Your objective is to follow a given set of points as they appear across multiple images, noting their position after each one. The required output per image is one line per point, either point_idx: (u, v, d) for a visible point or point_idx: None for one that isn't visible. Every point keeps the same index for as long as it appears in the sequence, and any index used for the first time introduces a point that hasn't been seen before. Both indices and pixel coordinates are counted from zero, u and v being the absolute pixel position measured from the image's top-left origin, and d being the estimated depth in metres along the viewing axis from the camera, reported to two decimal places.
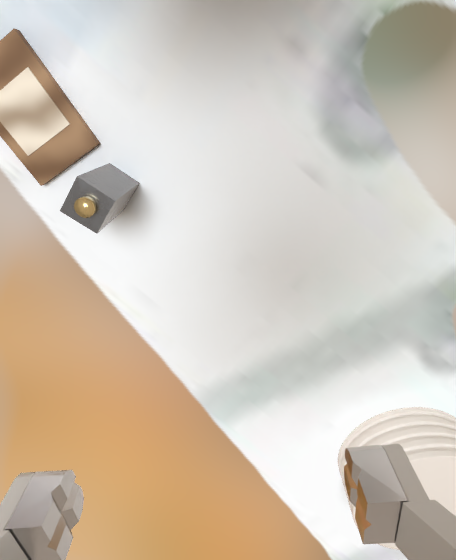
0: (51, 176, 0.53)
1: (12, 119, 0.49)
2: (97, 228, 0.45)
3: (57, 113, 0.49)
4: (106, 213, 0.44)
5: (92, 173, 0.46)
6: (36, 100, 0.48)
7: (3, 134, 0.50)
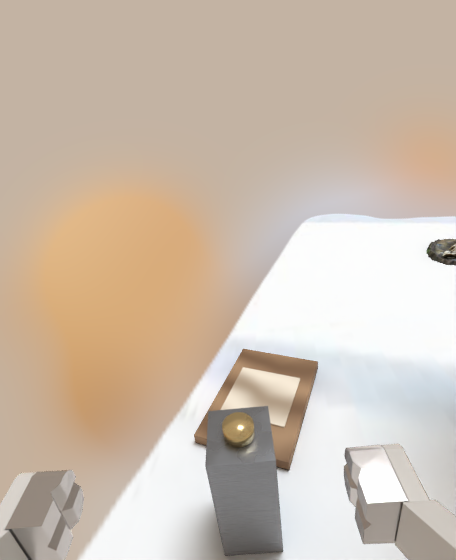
0: None
1: (245, 386, 0.46)
2: (214, 462, 0.26)
3: (284, 413, 0.42)
4: (247, 460, 0.25)
5: None
6: (279, 394, 0.45)
7: (225, 387, 0.47)
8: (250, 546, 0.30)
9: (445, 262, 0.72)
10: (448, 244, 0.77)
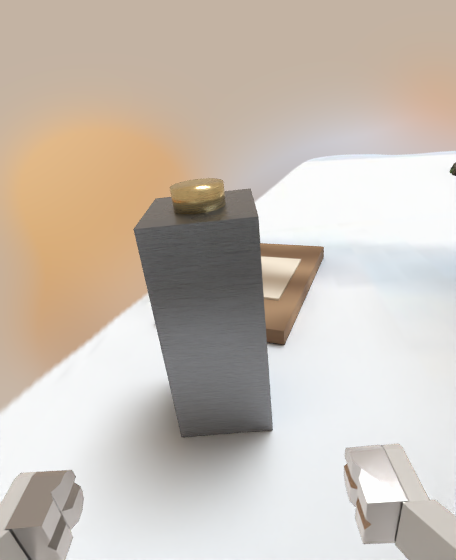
0: None
1: None
2: (150, 225, 0.15)
3: (279, 287, 0.31)
4: (208, 220, 0.14)
5: None
6: (273, 272, 0.34)
7: None
8: (220, 418, 0.19)
9: None
10: None
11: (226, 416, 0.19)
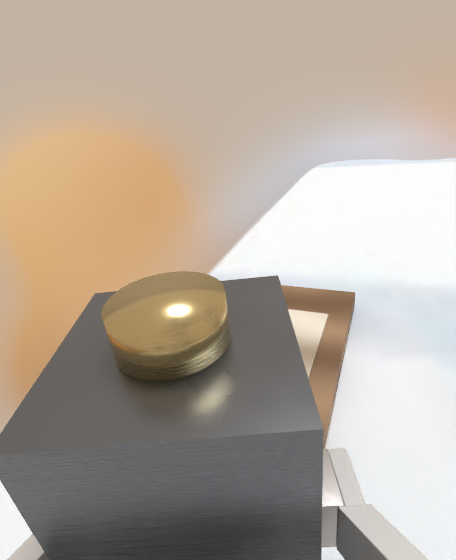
0: None
1: None
2: (34, 439, 0.06)
3: None
4: (186, 430, 0.05)
5: None
6: None
7: None
8: None
9: None
10: None
11: None
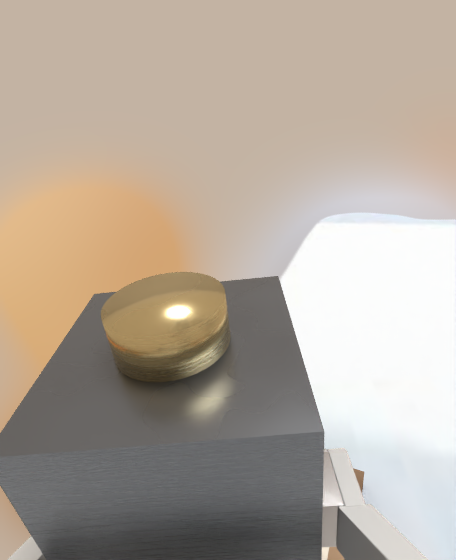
0: None
1: None
2: (32, 441, 0.05)
3: None
4: (186, 433, 0.05)
5: None
6: None
7: None
8: None
9: None
10: None
11: None
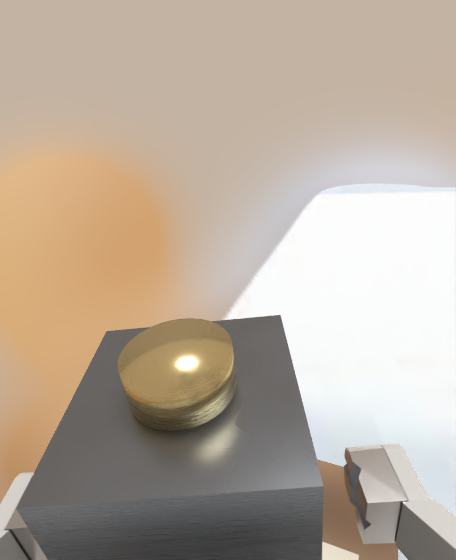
0: None
1: None
2: (59, 491, 0.06)
3: None
4: (198, 485, 0.06)
5: None
6: None
7: None
8: None
9: None
10: None
11: None
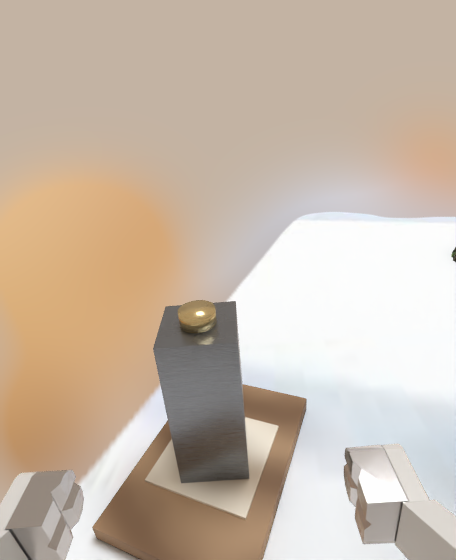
0: (121, 537, 0.23)
1: None
2: (164, 345, 0.21)
3: (248, 489, 0.25)
4: (204, 343, 0.21)
5: (239, 349, 0.27)
6: None
7: (162, 436, 0.30)
8: (210, 470, 0.26)
9: None
10: None
11: (215, 469, 0.26)
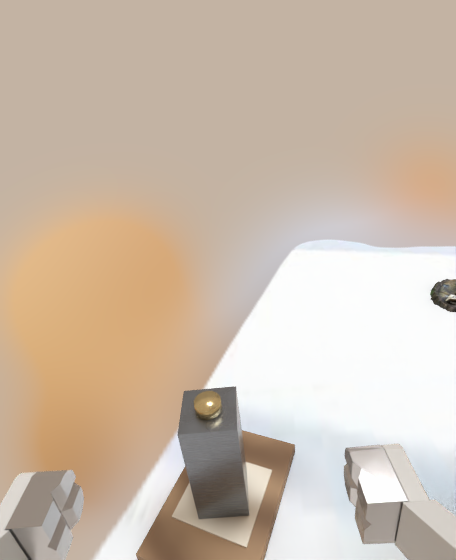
0: None
1: None
2: (185, 431, 0.30)
3: (248, 524, 0.34)
4: (213, 430, 0.30)
5: (239, 419, 0.35)
6: None
7: (182, 479, 0.39)
8: (220, 510, 0.35)
9: (448, 308, 0.64)
10: None
11: (223, 509, 0.35)
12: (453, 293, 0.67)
